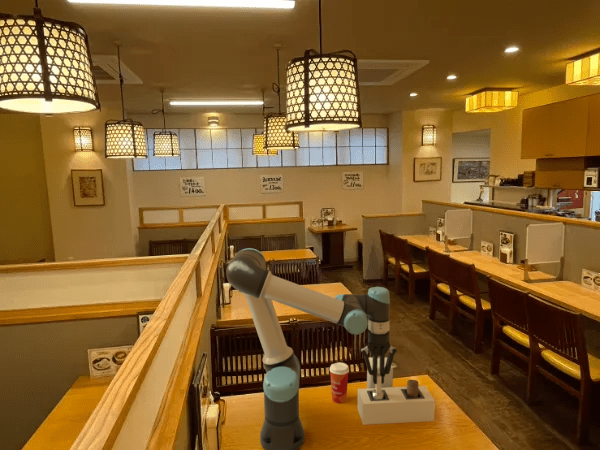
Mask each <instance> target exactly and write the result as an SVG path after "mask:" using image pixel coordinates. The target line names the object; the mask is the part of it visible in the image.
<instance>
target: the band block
mask: <svg viewBox="0 0 600 450" xmlns="http://www.w3.org/2000/svg"><path fill="white" fill-rule="evenodd" d="M374 389H375V388H367V387H366V388H357V411H358V413H359V414H358V415H359V416H360V420H361V422H362V426H364V425H383V424H385V425H386V424H387V425H388V424H401V423H421V422H435V410H436V409H435V406H436V400H435V398H434V396H432V394H431V393H430V391H429V389H428V388H427V386H426V385H418V397H415V398H408V397H407V386H393V387H388V388H381V390H382V391H383V399H374V400H373V399H372V391H373V390H374Z"/></svg>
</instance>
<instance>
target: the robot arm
mask: <svg viewBox="0 0 600 450" xmlns="http://www.w3.org/2000/svg"><path fill="white" fill-rule="evenodd" d="M225 272H226V274H225V275H226V279H227V281H228V283H229V285H230V286H231V287H232V288H234V289H235V290H236V291H238V293H239V294H242V295H243V296H244V298H245V300H246V303H247V306H248V309H249V311H250V312H249V313H250V315H251V318H252V321H253V323H254V327H255V329H256V333H257V336H258V338H259V341H260V344H261V347H262V350H263V353H264V356H263V357H262V362H263V363H262V364H263V366H264V369H265V372H266V374H265V375H264V377H263V383H262V387H263V396H264V397H263V402H264V403H263V405H264V419H263V424H262V426H261V430H260V434H259V436H260V437H259V438H260V439H259V441H260V442H259V443H260V445H261V447H262V449H265V450H299V449H300V448H301V447H302V446H303V445H304V443H305V441H306V440H305V439H306V437H305V435H306V434H305V429H304V426H303V423H302V421H301V418H300V377H301V376H300V375H301V365H300V361H299V359H298V357H297V356H296V355H295V352H294V350H293V348H292V347H289V346H288V345H287V342H286V338H285V335H284V333H283V330H282V326H281V324H280V321H279V317H278V315H277V312H276V309H275V308H276V307H275V306H274V303H273V302H277V303H278V304H281V305H285V306H287V307H290V308H291V309H292V308H293V309H294V310H295V309H296V310H299V311H301V312H304V313H307V314H309V315H312V316H314V317H317V318H320V319H323V320H326V321H329V322H330V323H333V324H336V325H339V326H341V327H344V328H345V330H346V331H347V332H348V333H350V334H351V335H361V334H362V333H364V332H365V331H366V330H367V329H368V331H367V343H366V346H365V347H361V348H360V351H361V353H362V355H363V358H364V361H365V364H366V368H367V369H366V370H368V372H369V374H370V375H373V382H374V384H375V390H376V392H377V393H381V384H383V383H384V377H385V374H389V372H390V368H391V365H392V364H393V360H394V357H395V355H396V353H397V352H398V350H397V349H396V347H395V346H394V345H393V346H392V345H391V343H390V314H391V313H390V311H391V310H390V308H391V305H390V304H391V300H390V299H391V298H390V290H388V289H387V288H385V287H383V286H382V287H381V286H375V287H370V288H369V289H368V290H367V291H368V292H367V293H359V294H358V293H353V294H352V293H348V294H347V293H343V294H342V293H341V294H337V295H335V296H334V297H332V296H329V295H327V294H325V293H322V292H318V291H316V290H314V289H311V288H308V287H305V286H303V285H301V284H297V283H295V282H292V281H290V280H287V279H285V278H281V277H279V276H276V275H273V274H272V272H271V270H269V269H267V261H266V258H265V255H264V254H263V253H262V252H261V251H259V250H258V249H255V248H251V247H250V248H249V247H248V248H244V249H241V250H239V251H238V252H236V253H235V255H234V256H233V258H232V259H231V260H230V262H229V263H228V264H227V267H226V271H225ZM369 352H370V353H371V355H372V357H373V370H372V369H371V365H370V361H369V355H368V354H369ZM386 353H387V361H386V365H385V357H386ZM378 358H380V373H377V362H378ZM392 366H393V365H392Z"/></svg>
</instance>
